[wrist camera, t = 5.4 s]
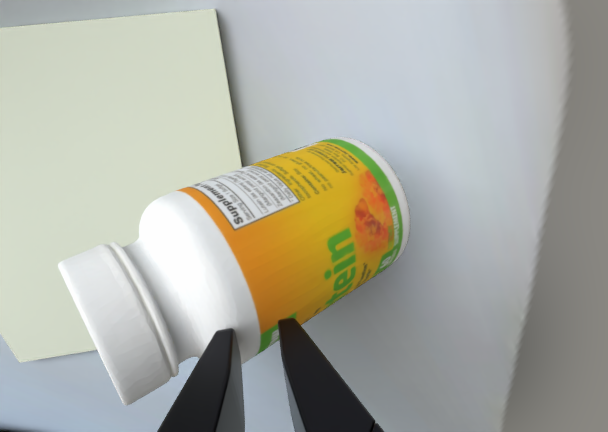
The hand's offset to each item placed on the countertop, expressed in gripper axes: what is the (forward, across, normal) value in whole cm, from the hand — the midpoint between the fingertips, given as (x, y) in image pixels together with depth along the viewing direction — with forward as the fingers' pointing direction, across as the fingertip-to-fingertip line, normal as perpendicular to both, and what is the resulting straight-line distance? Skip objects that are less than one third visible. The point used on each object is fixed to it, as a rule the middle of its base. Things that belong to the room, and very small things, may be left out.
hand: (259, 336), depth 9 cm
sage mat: (+8, +6, 0) cm, 10 cm away
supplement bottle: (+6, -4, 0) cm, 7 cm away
